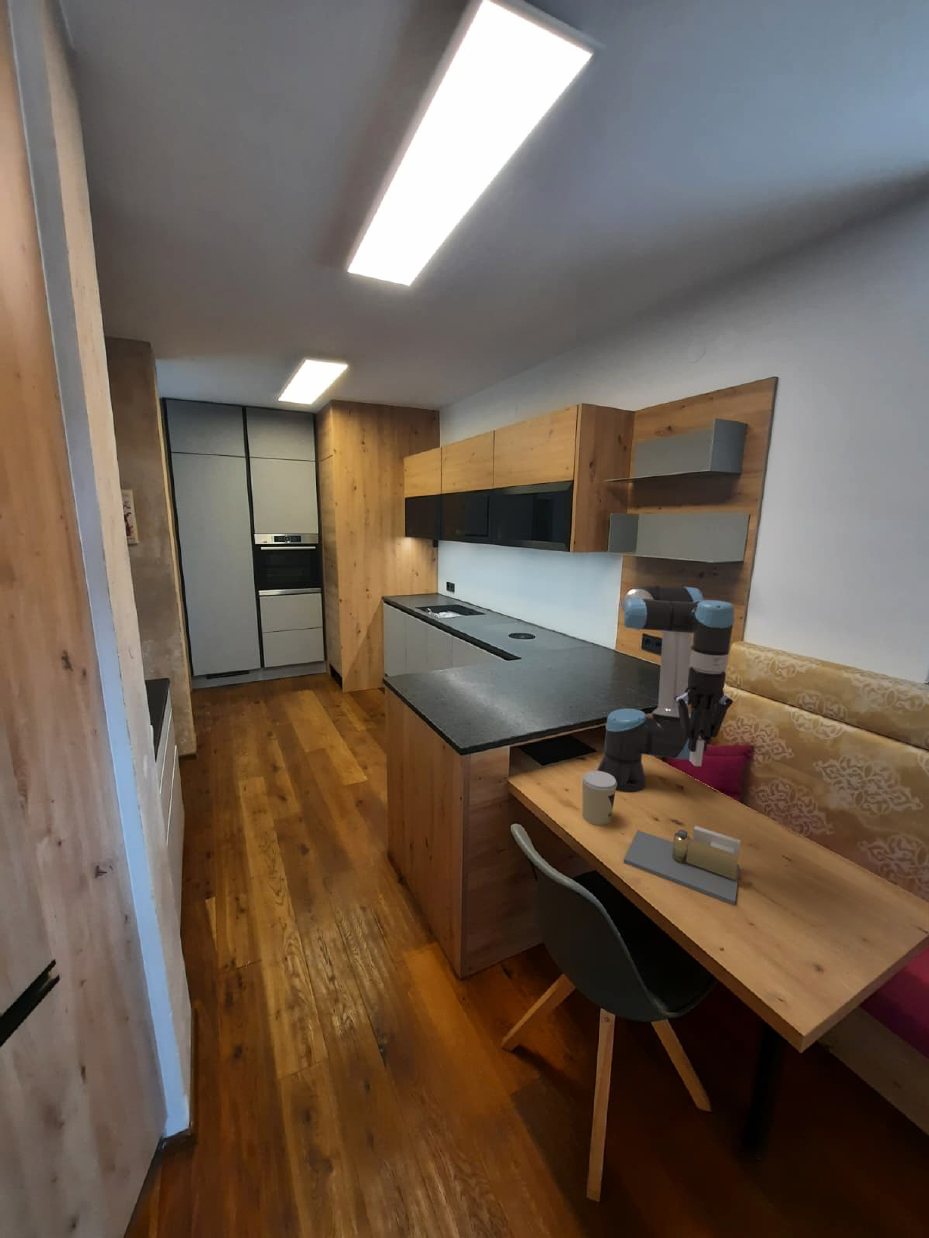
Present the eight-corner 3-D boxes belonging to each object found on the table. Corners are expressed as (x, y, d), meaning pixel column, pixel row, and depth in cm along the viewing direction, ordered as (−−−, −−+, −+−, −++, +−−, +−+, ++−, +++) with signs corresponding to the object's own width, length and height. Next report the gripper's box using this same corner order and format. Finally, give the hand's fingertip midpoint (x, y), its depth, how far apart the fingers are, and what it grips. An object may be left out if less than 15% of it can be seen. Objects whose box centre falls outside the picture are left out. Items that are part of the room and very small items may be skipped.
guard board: (637, 833, 129) (640, 804, 128) (738, 868, 116) (743, 837, 115) (623, 862, 118) (626, 831, 116) (734, 905, 105) (739, 871, 103)
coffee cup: (615, 829, 131) (618, 789, 128) (580, 824, 132) (583, 784, 130) (611, 809, 140) (615, 772, 137) (579, 805, 141) (581, 768, 139)
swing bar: (670, 858, 117) (673, 838, 116) (673, 850, 120) (675, 830, 119) (734, 881, 110) (737, 860, 109) (736, 872, 113) (739, 851, 112)
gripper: (687, 674, 105) (675, 771, 110) (745, 674, 105) (730, 771, 111) (671, 663, 112) (661, 755, 117) (725, 663, 113) (713, 755, 118)
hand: (695, 763), depth 114 cm, fingers closed
